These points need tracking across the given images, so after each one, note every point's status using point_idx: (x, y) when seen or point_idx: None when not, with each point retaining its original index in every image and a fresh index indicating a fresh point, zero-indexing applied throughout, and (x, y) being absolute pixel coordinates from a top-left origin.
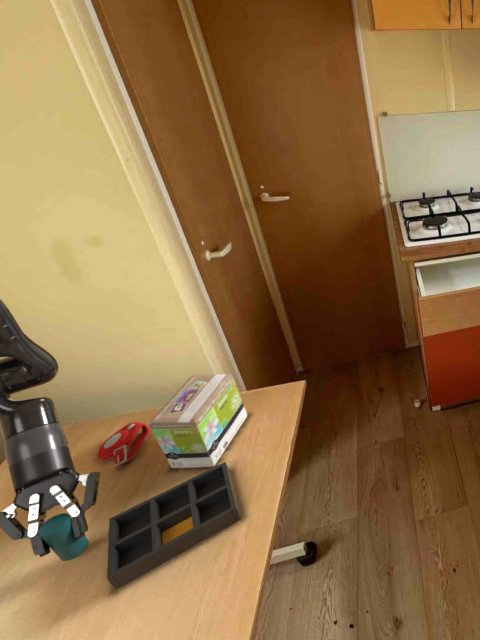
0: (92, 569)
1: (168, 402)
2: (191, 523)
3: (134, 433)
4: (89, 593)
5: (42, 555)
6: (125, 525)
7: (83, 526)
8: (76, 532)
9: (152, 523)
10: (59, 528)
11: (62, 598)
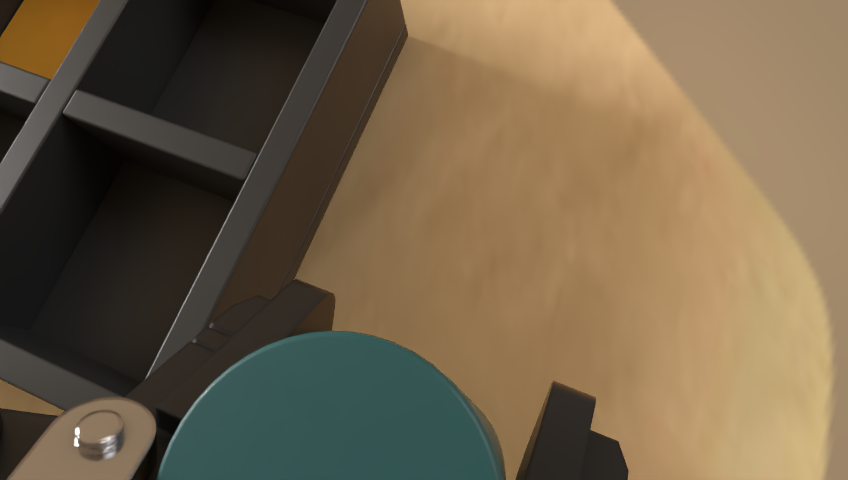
0: (424, 275)
1: None
2: (19, 38)
3: None
4: (491, 132)
5: (577, 393)
6: None
7: (220, 329)
8: (286, 308)
9: (57, 102)
10: (314, 335)
11: (589, 234)
